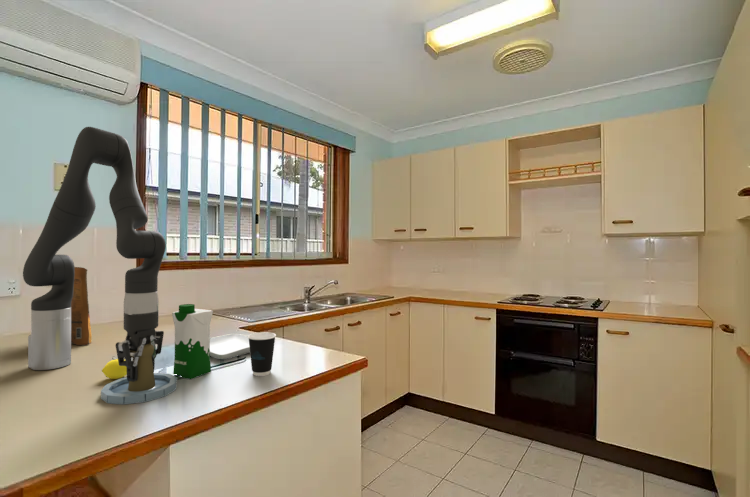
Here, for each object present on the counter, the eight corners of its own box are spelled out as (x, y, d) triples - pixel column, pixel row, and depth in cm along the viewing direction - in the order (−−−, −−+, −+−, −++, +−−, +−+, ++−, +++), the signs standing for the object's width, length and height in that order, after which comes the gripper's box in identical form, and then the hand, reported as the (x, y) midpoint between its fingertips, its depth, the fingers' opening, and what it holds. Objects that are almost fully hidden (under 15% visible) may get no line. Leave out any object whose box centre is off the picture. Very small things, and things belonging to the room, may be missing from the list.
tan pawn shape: (142, 392, 95) (142, 347, 94) (121, 390, 96) (122, 345, 96) (161, 384, 101) (161, 341, 100) (141, 381, 102) (141, 340, 102)
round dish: (84, 401, 91) (84, 393, 91) (135, 378, 107) (135, 371, 107) (146, 406, 89) (147, 398, 89) (189, 381, 105) (189, 375, 105)
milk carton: (167, 376, 109) (168, 305, 108) (195, 367, 117) (195, 300, 117) (190, 381, 105) (190, 307, 105) (216, 371, 113) (217, 303, 113)
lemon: (125, 375, 111) (128, 356, 111) (133, 379, 107) (136, 359, 108) (96, 378, 105) (100, 358, 106) (103, 383, 102) (107, 362, 102)
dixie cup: (249, 379, 107) (249, 339, 107) (245, 370, 114) (246, 333, 114) (278, 375, 110) (278, 337, 110) (273, 367, 118) (273, 331, 117)
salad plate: (273, 349, 138) (273, 340, 138) (221, 365, 120) (221, 354, 120) (234, 340, 150) (234, 332, 150) (182, 353, 132) (182, 343, 132)
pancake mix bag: (75, 348, 135) (76, 268, 135) (55, 340, 146) (55, 265, 145) (98, 344, 141) (98, 267, 140) (76, 336, 151) (76, 264, 151)
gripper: (148, 304, 105) (147, 367, 105) (104, 314, 91) (104, 386, 91) (173, 305, 104) (173, 368, 104) (133, 315, 90) (132, 388, 90)
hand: (141, 376), depth 98 cm, fingers open, 5 cm apart
